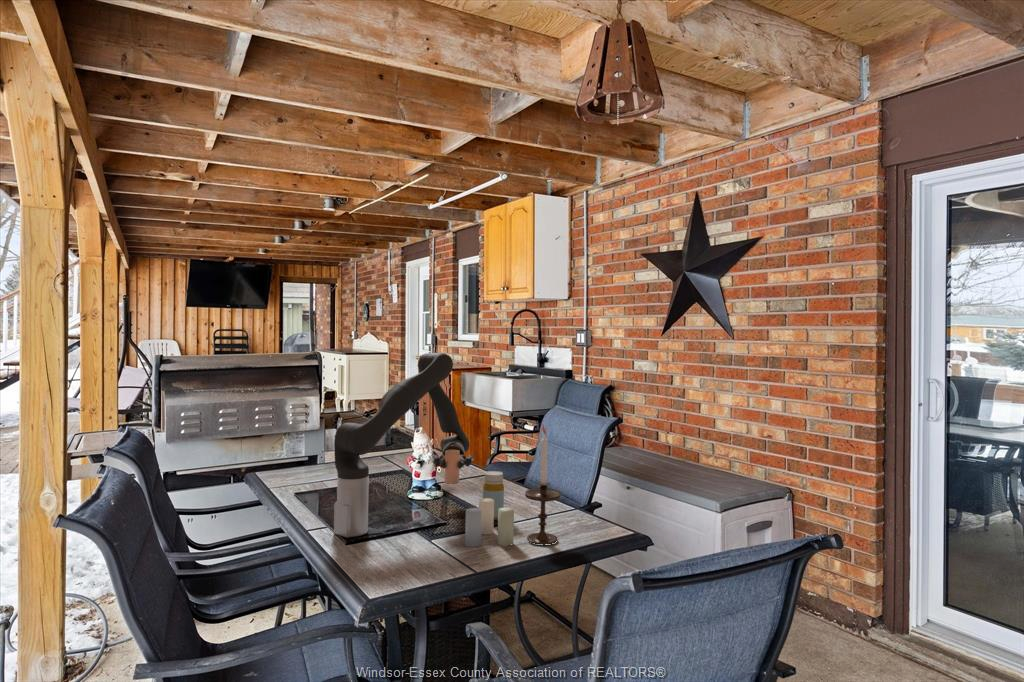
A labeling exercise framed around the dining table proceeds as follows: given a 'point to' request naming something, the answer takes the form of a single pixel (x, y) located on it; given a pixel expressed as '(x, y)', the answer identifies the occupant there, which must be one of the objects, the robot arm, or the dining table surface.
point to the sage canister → (505, 526)
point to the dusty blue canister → (473, 527)
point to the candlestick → (543, 498)
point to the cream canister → (487, 515)
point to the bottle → (494, 489)
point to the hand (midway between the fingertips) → (452, 465)
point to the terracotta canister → (452, 466)
